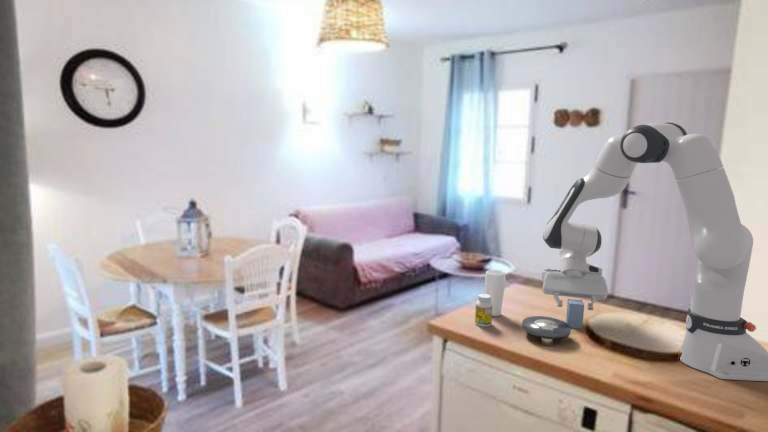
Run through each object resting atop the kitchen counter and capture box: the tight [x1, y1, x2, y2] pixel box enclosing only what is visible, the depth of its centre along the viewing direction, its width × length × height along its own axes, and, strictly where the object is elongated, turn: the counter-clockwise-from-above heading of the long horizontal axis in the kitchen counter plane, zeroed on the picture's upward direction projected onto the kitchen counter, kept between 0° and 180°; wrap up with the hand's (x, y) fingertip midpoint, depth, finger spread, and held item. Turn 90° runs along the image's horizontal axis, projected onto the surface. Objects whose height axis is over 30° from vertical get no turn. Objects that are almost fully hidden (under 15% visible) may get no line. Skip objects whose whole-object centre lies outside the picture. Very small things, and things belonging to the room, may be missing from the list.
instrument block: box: [565, 298, 585, 329], centre depth 151 cm, size 4×4×8 cm
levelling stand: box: [521, 315, 572, 347], centre depth 142 cm, size 14×14×5 cm
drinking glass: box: [484, 269, 507, 317], centre depth 159 cm, size 7×7×15 cm
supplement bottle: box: [474, 293, 493, 327], centre depth 151 cm, size 5×5×10 cm
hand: (575, 307), depth 152 cm, fingers open, 8 cm apart
